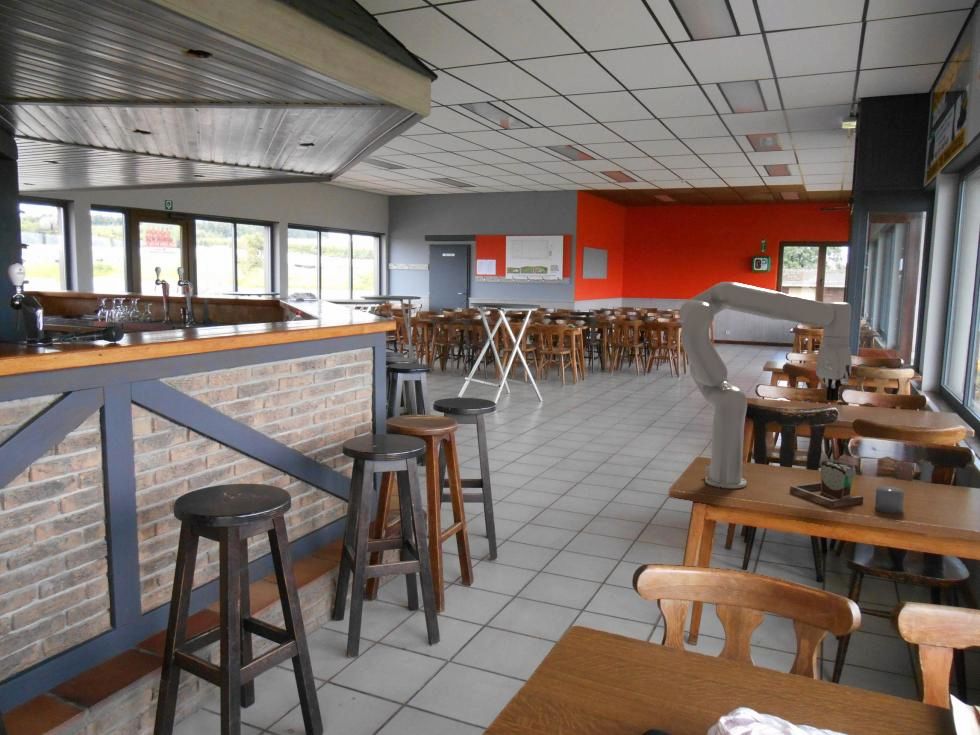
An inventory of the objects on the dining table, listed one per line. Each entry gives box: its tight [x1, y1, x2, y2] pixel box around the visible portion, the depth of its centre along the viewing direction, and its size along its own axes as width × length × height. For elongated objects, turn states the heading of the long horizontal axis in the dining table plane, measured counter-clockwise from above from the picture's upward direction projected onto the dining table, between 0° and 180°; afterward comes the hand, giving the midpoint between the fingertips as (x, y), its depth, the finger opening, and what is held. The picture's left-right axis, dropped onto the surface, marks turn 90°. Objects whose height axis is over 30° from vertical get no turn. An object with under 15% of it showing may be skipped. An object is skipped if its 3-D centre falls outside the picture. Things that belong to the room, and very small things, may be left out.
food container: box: [819, 459, 857, 499], centre depth 219 cm, size 12×6×10 cm, turn 12°
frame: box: [789, 481, 864, 509], centre depth 217 cm, size 16×12×2 cm
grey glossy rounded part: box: [874, 485, 905, 515], centre depth 206 cm, size 7×7×6 cm
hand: (832, 400), depth 229 cm, fingers closed
